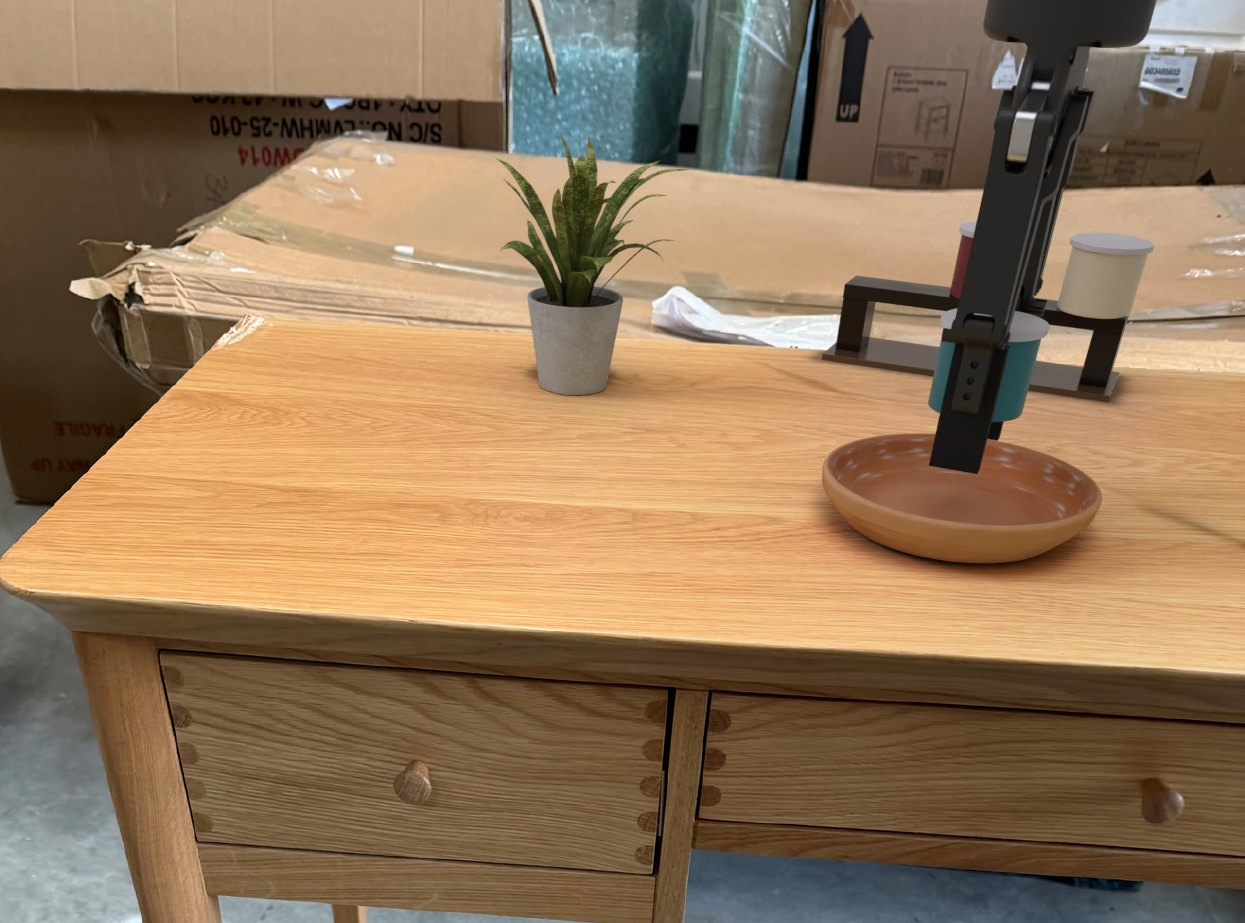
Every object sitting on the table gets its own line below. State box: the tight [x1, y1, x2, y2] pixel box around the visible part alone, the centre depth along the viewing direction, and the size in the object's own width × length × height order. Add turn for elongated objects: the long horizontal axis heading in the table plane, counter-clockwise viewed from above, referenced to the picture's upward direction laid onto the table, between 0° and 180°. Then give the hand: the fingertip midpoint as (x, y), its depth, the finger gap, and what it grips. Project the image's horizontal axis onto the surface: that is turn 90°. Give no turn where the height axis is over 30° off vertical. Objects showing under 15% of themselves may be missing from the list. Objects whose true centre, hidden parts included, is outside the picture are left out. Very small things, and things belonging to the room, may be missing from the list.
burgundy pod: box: [950, 220, 977, 299], centre depth 91 cm, size 6×6×5 cm
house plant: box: [495, 134, 690, 396], centre depth 86 cm, size 14×14×16 cm
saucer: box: [821, 432, 1103, 564], centre depth 72 cm, size 16×16×3 cm
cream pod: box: [1057, 232, 1155, 319], centre depth 88 cm, size 6×6×5 cm
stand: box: [821, 275, 1130, 403], centre depth 94 cm, size 7×22×6 cm, turn 64°
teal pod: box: [927, 309, 1050, 423], centre depth 67 cm, size 6×6×5 cm
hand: (965, 450), depth 70 cm, fingers closed on teal pod, 6 cm apart
